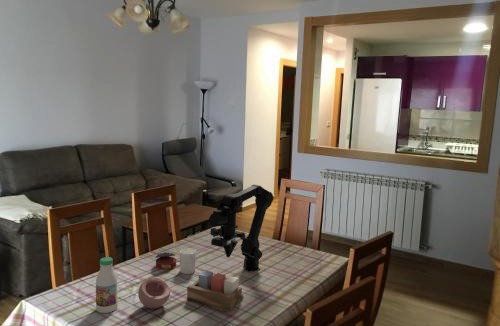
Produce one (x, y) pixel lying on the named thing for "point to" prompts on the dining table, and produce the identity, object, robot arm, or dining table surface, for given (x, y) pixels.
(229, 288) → the white key
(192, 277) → the dining table surface
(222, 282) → the red key
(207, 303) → the key console
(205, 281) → the grey rectangular block
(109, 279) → the milk bottle
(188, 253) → the white cup
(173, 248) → the dining table surface
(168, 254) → the canned food
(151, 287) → the pink round pot
